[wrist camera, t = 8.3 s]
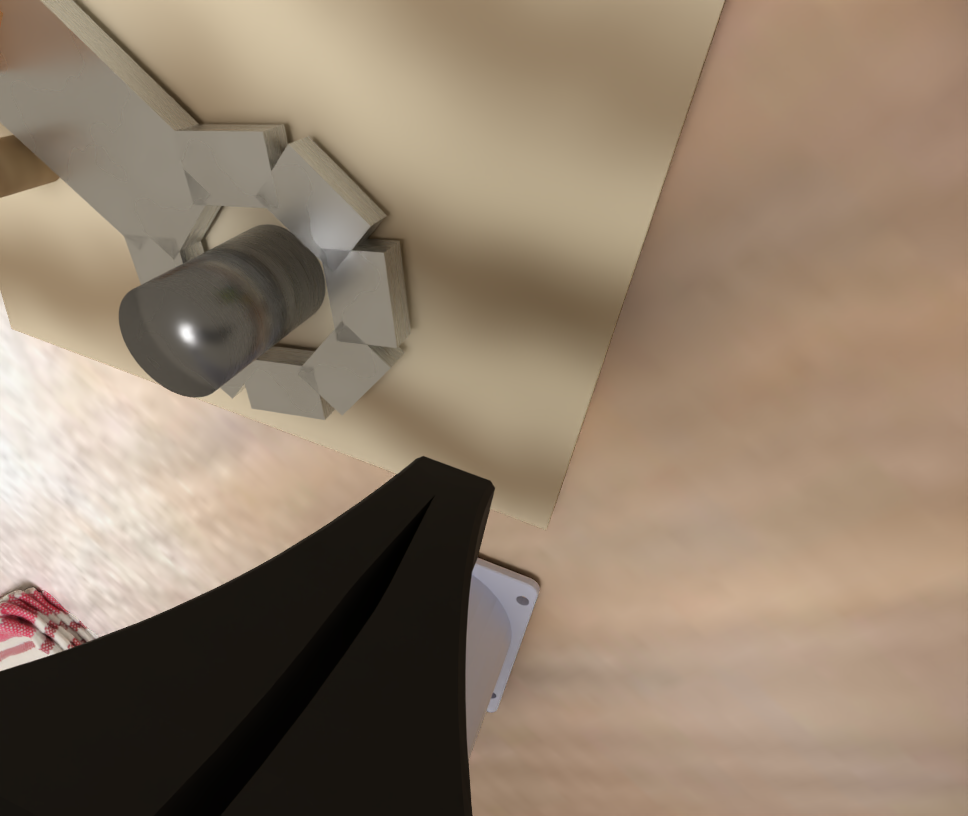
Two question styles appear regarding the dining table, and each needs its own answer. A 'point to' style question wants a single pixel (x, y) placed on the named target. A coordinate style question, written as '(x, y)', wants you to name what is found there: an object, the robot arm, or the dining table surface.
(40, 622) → the dish towel
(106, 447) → the dining table surface
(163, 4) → the board
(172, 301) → the post
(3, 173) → the dowel
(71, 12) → the crank
